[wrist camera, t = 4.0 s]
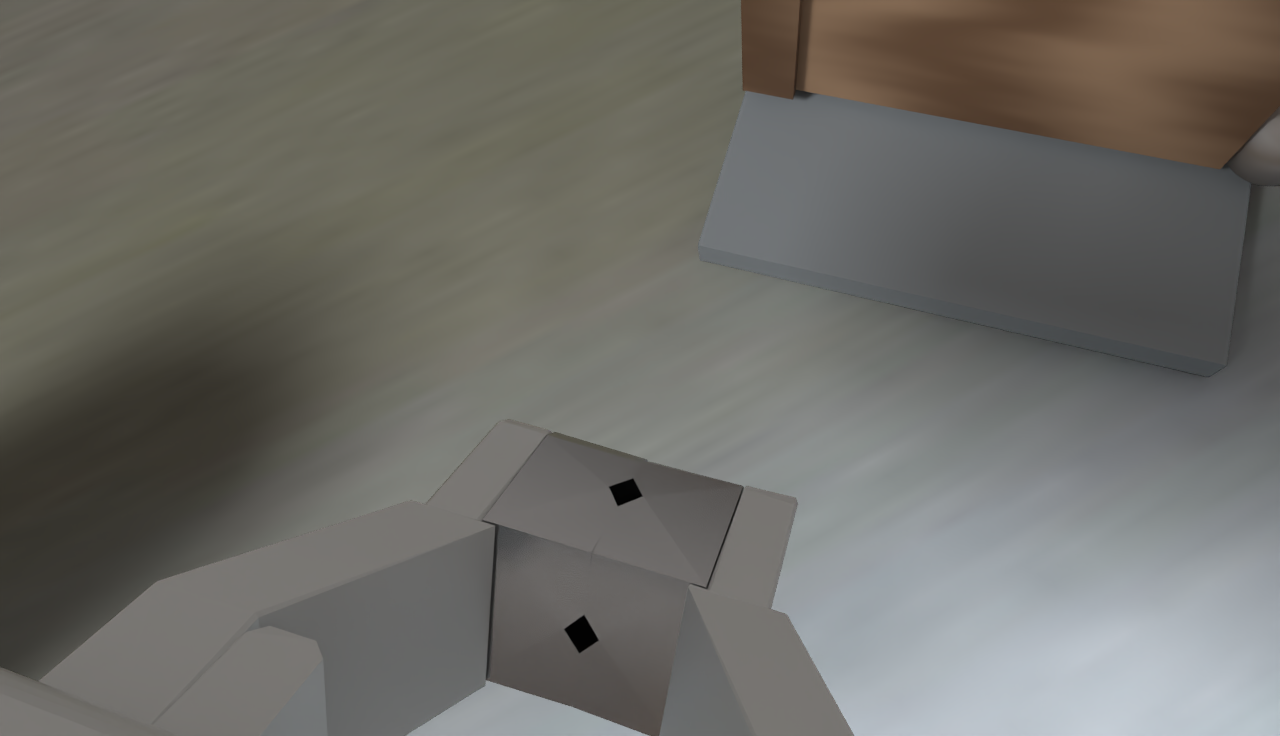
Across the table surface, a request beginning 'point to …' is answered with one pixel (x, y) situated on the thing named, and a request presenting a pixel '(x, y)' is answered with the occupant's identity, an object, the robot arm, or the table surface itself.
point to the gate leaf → (1044, 68)
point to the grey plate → (985, 226)
